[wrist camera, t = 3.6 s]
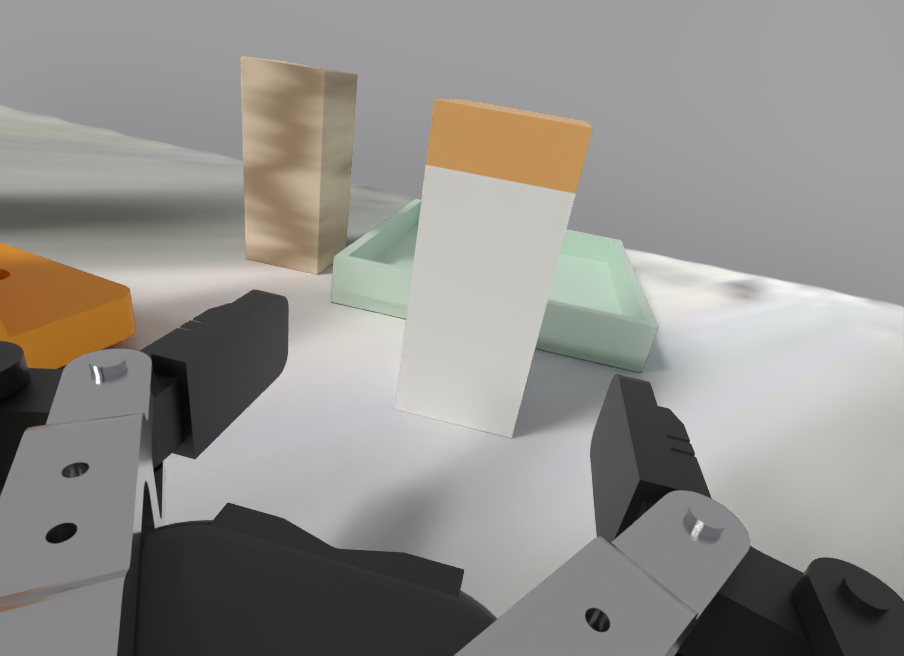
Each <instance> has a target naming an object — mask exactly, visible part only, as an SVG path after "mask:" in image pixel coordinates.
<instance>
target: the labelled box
mask: <svg viewBox="0 0 904 656" xmlns="http://www.w3.org/2000/svg"><path fill="white" fill-rule="evenodd" d="M431 122H432V123H431V130H430V137H429V145H428V153H427V161H426V169H425V177H424V184H423V193H422V200H421V208H420V216H419V224H418V232H417V240H416V247H415V255H414V263H413V271H412V279H411V287H410V295H409V303H408V310H407V318H406V326H405V334H404V342H403V350H402V358H401V365H400V373H399V381H398V389H397V397H396V405H395V409H396V410H400V411H404V412H408V413H412V414H416V415H420V416H424V417H428V418H432V419H436V420H440V421H444V422H448V423H452V424H456V425H460V426H464V427H468V428H473V429H477V430H481V431H485V432H489V433H493V434H497V435H501V436H505V437H509V438H512V435H513V431H514V427H515V424H516V420H517V416H518V412H519V408H520V404H521V401H522V397H523V393H524V389H525V385H526V382H527V378H528V374H529V370H530V366H531V362H532V359H533V355H534V351H535V347H536V343H537V339H538V336H539V332H540V328H541V324H542V320H543V316H544V313H545V309H546V305H547V301H548V297H549V293H550V290H551V286H552V282H553V278H554V274H555V270H556V267H557V263H558V259H559V255H560V251H561V247H562V244H563V240H564V236H565V232H566V228H567V224H568V221H569V217H570V213H571V209H572V205H573V202H574V198H575V194H576V190H577V186H578V182H579V178H580V175H581V171H582V167H583V163H584V159H585V155H586V152H587V148H588V144H589V140H590V136H591V132H592V129H593V128H592V127H591V126H590V125H589V124H588V123H587V122H585V121H582V120H576V119H570V118H564V117H559V116H553V115H548V114H541V113H536V112H531V111H525V110H520V109H514V108H508V107H502V106H497V105H491V104H486V103H480V102H475V101H468V100H463V99H443V100H442V99H440V100H439V99H437V100H436V99H435V100H434V106H433V114H432V121H431Z"/></svg>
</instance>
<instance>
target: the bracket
mask: <svg viewBox="0 0 904 656" xmlns="http://www.w3.org/2000/svg"><path fill="white" fill-rule="evenodd" d="M135 330H136V329H135V322H134V315H133V308H132V301H131V294H130V289H129V288H128V287H126V286H124V285H121V284H119V283H116V282H113V281H110V280H107V279H104V278H101V277H98V276H95V275H92V274H90V273H87V272H84V271H81V270H78V269H75V268H72V267H69V266H66V265H63V264H60V263H58V262H55V261H52V260H49V259H46V258H43V257H40V256H37V255H34V254H31V253H29V252H26V251H23V250H20V249H17V248H14V247H11V246H8V245H5V244H2V243H0V341H6V342H11V343H15V344H17V345H19V346H20V347H21V348H22V349H23V351H24V355H25V359H26V363H27V367H28V368H44V369H57V368H60V367H62V366H64V365H67V364H69V363H70V362H71V361H73V360H74V359H76V358H78V357H80V356H83V355H85V354H88V353H91V352H95V351H99V350H102V349H104V348H106V347H109V346H111V345H113V344H116V343H118V342H120V341H123V340H125V339H127V338H129V337H131V336H132V335H133V334H134V333H135Z"/></svg>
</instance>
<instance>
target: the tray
mask: <svg viewBox="0 0 904 656" xmlns="http://www.w3.org/2000/svg"><path fill="white" fill-rule="evenodd" d="M420 208H421V200H418V199H415V200H413V201H412V202H411V203H409V204H408V205H406V206H405V207H403V208H402V209H401V210H399V211H398V212H396V213H395V214H394V215H392V216H391V217H389V218H388V219H386V220H385V221H384V222H382V223H381V224H379V225H378V226H376V227H375V228H374V229H372V230H371V231H369V232H368V233H366V234H365V235H364V236H362V237H361V238H359V239H358V240H356V241H355V242H354V243H352V244H351V245H349V246H348V247H346V248H345V249H344V250H342V251H341V252H339V253H338V254H336V255H335V256H334V259H333V278H332V297H331V302H334V303H339V304H343V305H347V306H352V307H356V308H360V309H365V310H369V311H374V312H378V313H382V314H387V315H391V316H395V317H400V318H404V319H406V318H407V310H408V303H409V295H410V287H411V279H412V271H413V263H414V255H415V247H416V240H417V232H418V224H419V216H420ZM658 328H659V327H658V325H657V322H656V320H655V318H654V316H653V313H652V311H651V309H650V306H649V304H648V302H647V299H646V297H645V295H644V293H643V290H642V288H641V286H640V283H639V281H638V279H637V276H636V274H635V272H634V270H633V267H632V265H631V263H630V260H629V258H628V256H627V253H626V251H625V249H624V247H623V244H622V242H621V240H617V239H612V238H607V237H602V236H597V235H592V234H587V233H582V232H577V231H572V230H567V229H566V232H565V236H564V240H563V244H562V247H561V251H560V255H559V259H558V263H557V267H556V270H555V274H554V278H553V282H552V286H551V290H550V293H549V297H548V301H547V305H546V309H545V313H544V316H543V320H542V324H541V328H540V332H539V336H538V339H537V343H536V347H535V348H536V349H540V350H544V351H549V352H553V353H557V354H562V355H566V356H571V357H575V358H579V359H584V360H588V361H592V362H597V363H601V364H606V365H610V366H614V367H619V368H623V369H627V370H632V371H636V372H641V373H642V370H643V367H644V365H645V362H646V360H647V357H648V354H649V352H650V349H651V346H652V344H653V341H654V338H655V336H656V333H657V330H658Z"/></svg>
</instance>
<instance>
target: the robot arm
mask: <svg viewBox="0 0 904 656" xmlns="http://www.w3.org/2000/svg"><path fill="white" fill-rule="evenodd" d="M287 356H288V301H287V299H286V297H284V296H281V295H277V294H273V293H268V292H264V291H260V290H252V291H250V292H249V293H247V294H245V295H244V296H242V297H241V298H239V299H237V300H236V301H234V302H233V303H231V304H230V303H229V304H225V305H222V306H219V307H215V308H212V309H208V310H207V311H205V312H203V313H202V314H200V315H198V316H197V317H195V318H193V321H188V322H187V323H185V324H184V325H182V326H180V329H178V328H177V329H175V330H174V331H172V332H170V333H169V334H167V335H165V336H164V337H162V338H160V339H159V340H157V341H155V342H154V343H152V344H150V345H149V346H147V347H145V348H144V349H142V350H140V351H137V350H133V349H120V348H119V349H105V350H100V351H95V352H91V353H88V354H85V355H83V356H80V357H78V358H76V359H74V360H73V361H71V362H70V363H69V364H68V365H67V366H66V367H65V368H64V369H44V368H28V367H27V363H26V359H25V355H24V351H23V349H22V348H21V347H20V346H19V345H17V344H15V343H11V342H6V341H0V656H904V601H903V599H902V598H901V597H900V596H899V595H898V594H897V593H896V592H894V591H893V590H892V589H891V588H890V587H889V586H887V585H886V584H885V583H883V582H882V581H881V580H879V579H878V578H877V577H875V576H873V575H872V574H870V573H869V572H867V571H865V570H863V569H861V568H860V567H857V566H855V565H853V564H851V563H848V562H845V561H842V560H839V559H835V558H827V557H826V558H818V559H815V560H814V561H812V562H811V564H810V565H809V566H808V568H807V569H806V571H805V572H804V573H803V572H800V571H798V570H796V569H794V568H792V567H790V566H788V565H786V564H784V563H782V562H780V561H778V560H776V559H774V558H772V557H770V556H768V555H766V554H764V553H762V552H760V551H758V550H756V549H755V548H753V547H752V546H750V538H749V535H748V532H747V530H746V529H745V527H744V525H743V524H742V523H741V521H740V520H739V519H738V518H737V517H736V516H735V515H734V514H733V513H732V512H731V511H730V510H728V509H727V508H726V507H724V506H723V505H722V504H720V503H718V502H717V501H715V500H713V499H712V498H711V496H710V493H709V490H708V488H707V485H706V482H705V480H704V477H703V474H702V472H701V469H700V466H699V464H698V461H697V458H696V457H694V455H695V453H694V450H693V448H692V445H691V444H690V443H689V442H690V440H689V437H688V434H687V432H686V429H685V426H684V424H683V423H682V422H681V421H680V420H679V419H678V418H677V417H676V416H675V414H674V413H673V412H672V411H671V410H670V409H668V408H664V407H660V406H657V403H656V400H655V396H654V393H653V390H652V387H651V384H650V383H649V382H647V381H643V380H638V379H634V378H630V377H625V376H621V375H615V376H614V377H613V379H612V381H611V384H610V386H609V389H608V392H607V395H606V398H605V400H604V403H603V406H602V409H601V412H600V415H599V417H598V420H597V423H596V426H595V429H594V432H593V436H592V441H591V449H590V459H591V471H592V483H593V496H594V508H595V520H596V532H597V538H595V539H594V540H592V541H591V542H590V543H589V544H587V545H586V546H585V547H584V548H583V549H581V550H580V551H579V552H578V553H577V554H575V555H574V556H573V557H572V558H571V559H569V560H568V561H567V562H566V563H565V564H563V565H562V566H561V567H560V568H559V569H557V570H556V571H555V572H554V573H553V574H551V575H550V576H549V577H548V578H547V579H545V580H544V581H543V582H542V583H540V584H539V585H538V586H537V587H536V588H534V589H533V590H532V591H531V592H530V593H528V594H527V595H526V596H525V597H524V598H522V599H521V600H520V601H519V602H518V603H516V604H515V605H514V606H513V607H512V608H510V609H509V610H508V611H507V612H506V613H504V614H503V615H502V616H501V617H500V618H498V619H497V618H496V617H495V616H494V615H493V614H492V613H491V612H490V611H489V610H488V609H487V608H485V607H484V606H483V605H482V604H480V603H479V602H478V601H476V600H475V599H474V598H472V597H471V596H469V595H467V594H466V593H464V592H462V591H461V590H460V589H461V584H462V579H463V574H464V570H463V569H460V568H456V567H453V566H449V565H446V564H442V563H439V562H435V561H432V560H428V559H425V558H421V557H418V556H414V555H411V554H407V553H402V552H383V551H365V550H346V549H338V548H334V547H332V546H330V545H328V544H327V543H325V542H323V541H321V540H320V539H318V538H316V537H315V536H313V535H311V534H309V533H308V532H306V531H304V530H303V529H301V528H299V527H297V526H296V525H294V524H292V523H291V522H289V521H287V520H285V519H284V518H280V517H277V516H273V515H270V514H266V513H263V512H259V511H256V510H252V509H249V508H245V507H242V506H238V505H235V504H231V503H227V504H226V505H225V506H224V508H223V509H222V510H221V511H220V512H219V514H218V515H217V516H216V517H215V519H214V520H201V521H188V522H180V523H174V524H170V525H165V481H166V470H165V462H164V460H165V459H166V458H167V457H168V456H169V455H170V454H171V453H174V454H178V455H181V456H185V457H188V458H192V459H196V458H197V457H198V456H199V455H200V454H201V453H202V452H203V451H204V450H205V449H206V448H207V447H208V446H209V445H210V444H211V443H212V442H213V441H214V440H215V439H216V438H217V437H218V436H219V435H220V434H221V433H222V432H223V431H224V430H225V429H226V428H227V427H228V426H229V425H230V424H231V423H232V422H233V421H234V420H235V419H236V418H237V417H238V416H239V415H240V414H241V413H242V412H243V411H244V410H245V409H246V408H247V407H248V406H249V405H250V404H251V403H252V402H253V401H254V400H255V399H256V398H257V397H258V396H259V395H260V394H261V393H262V392H264V391H265V390H266V389H267V388H268V387H269V386H270V385H271V384H272V383H273V382H274V381H275V380H276V379H277V378H278V377H279V375H280V374H281V373H282V371H283V369H284V367H285V364H286V361H287Z"/></svg>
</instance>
